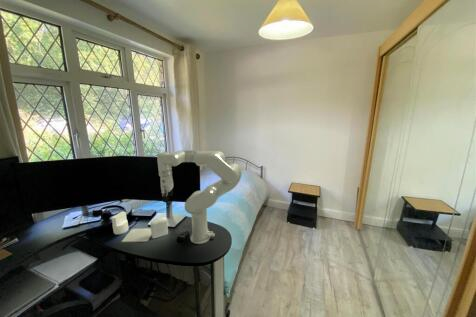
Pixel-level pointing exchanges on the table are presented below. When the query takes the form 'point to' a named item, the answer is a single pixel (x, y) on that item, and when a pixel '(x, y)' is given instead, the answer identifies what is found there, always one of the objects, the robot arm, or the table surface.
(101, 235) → the table surface
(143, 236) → the felt mat
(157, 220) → the photo printer
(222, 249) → the table surface
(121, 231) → the base with upright slab
